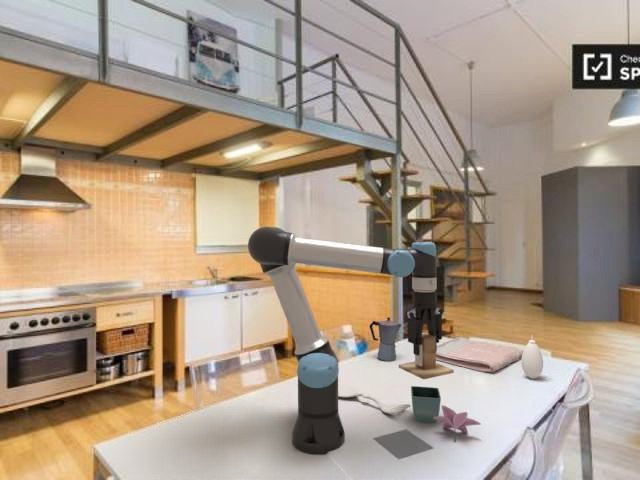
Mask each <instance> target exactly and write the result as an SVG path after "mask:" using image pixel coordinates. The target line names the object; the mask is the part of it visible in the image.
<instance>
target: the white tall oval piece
mask: <svg viewBox="0 0 640 480" xmlns="http://www.w3.org/2000/svg"><path fill="white" fill-rule="evenodd" d="M521 368H522V370H523V373H524V374H525V375H526V376H527V377H528V378H530V379H531V380H535V379H538V377H540V375H541V374H542V372H543V370H544V359H543V355H542V352H541V349H540V347H539V346H538V344H537V343H536V340H534V337H533V335H531V339H530V340H528V343H526V345H525V347H524V349H523V354H522V357H521Z"/></svg>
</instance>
